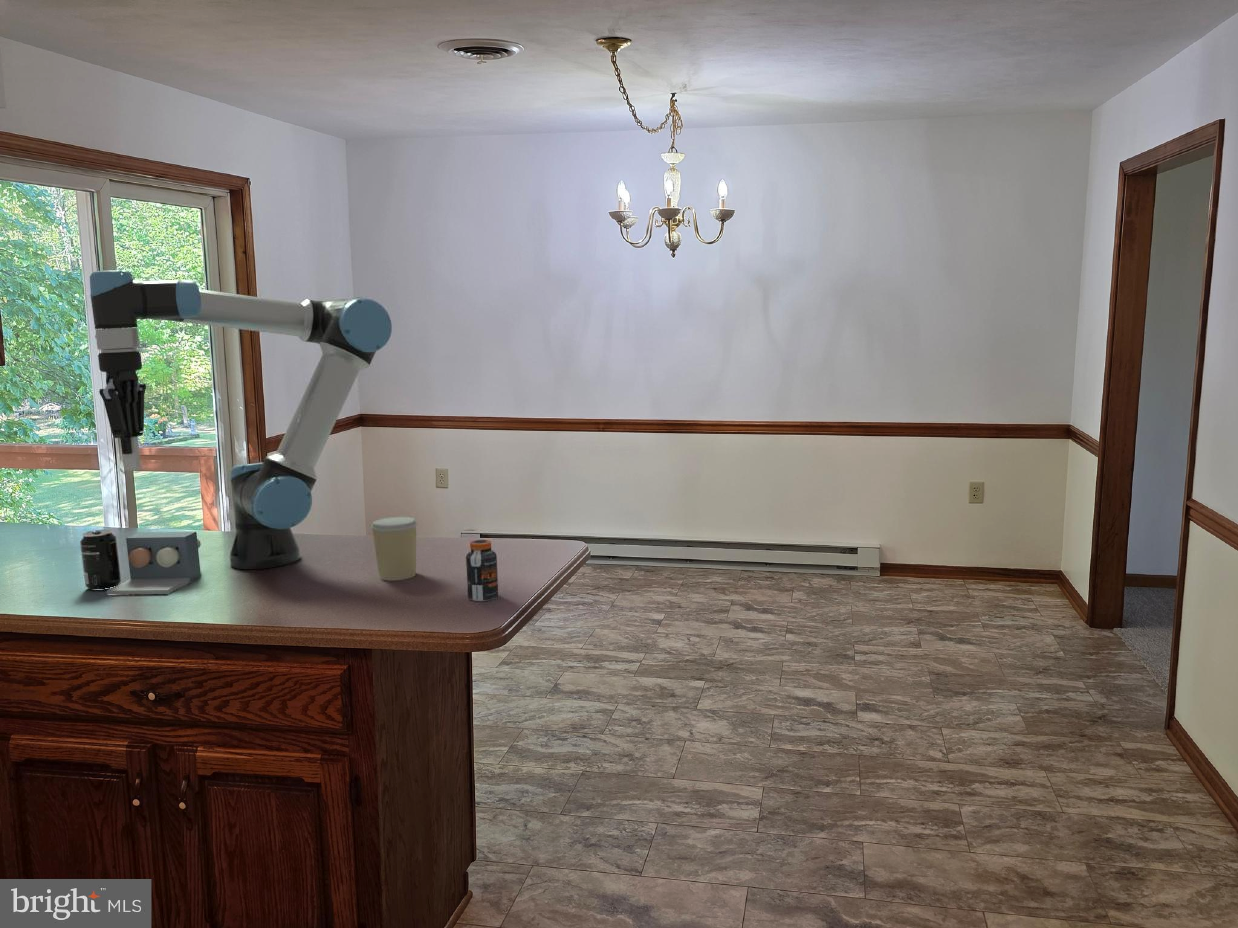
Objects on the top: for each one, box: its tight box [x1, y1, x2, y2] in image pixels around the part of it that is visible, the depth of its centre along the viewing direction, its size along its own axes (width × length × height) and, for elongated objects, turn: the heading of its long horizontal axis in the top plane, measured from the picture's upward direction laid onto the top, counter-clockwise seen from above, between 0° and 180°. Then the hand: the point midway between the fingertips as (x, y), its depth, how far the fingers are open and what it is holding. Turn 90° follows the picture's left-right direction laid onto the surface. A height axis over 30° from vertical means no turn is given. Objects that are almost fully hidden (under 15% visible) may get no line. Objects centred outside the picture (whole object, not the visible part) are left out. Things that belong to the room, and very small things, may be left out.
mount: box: [106, 531, 202, 595], centre depth 208 cm, size 13×14×10 cm
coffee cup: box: [371, 516, 417, 582], centre depth 209 cm, size 9×9×12 cm
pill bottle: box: [465, 539, 499, 602], centre depth 191 cm, size 6×6×11 cm
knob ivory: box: [156, 538, 202, 567], centre depth 214 cm, size 4×13×4 cm, turn 176°
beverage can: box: [79, 528, 122, 590], centre depth 208 cm, size 7×7×12 cm
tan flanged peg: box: [128, 547, 152, 568], centre depth 214 cm, size 4×13×4 cm, turn 177°
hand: (132, 469), depth 196 cm, fingers closed
